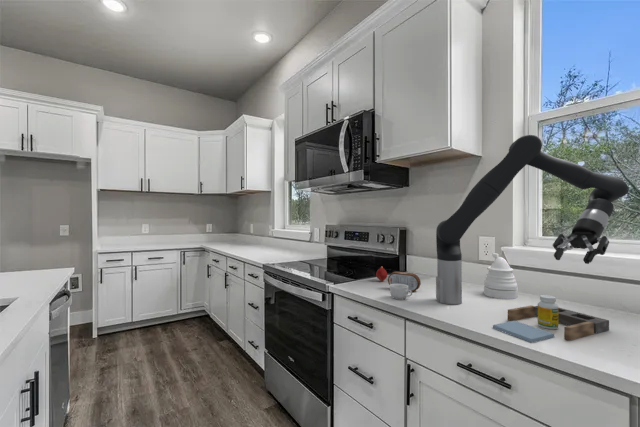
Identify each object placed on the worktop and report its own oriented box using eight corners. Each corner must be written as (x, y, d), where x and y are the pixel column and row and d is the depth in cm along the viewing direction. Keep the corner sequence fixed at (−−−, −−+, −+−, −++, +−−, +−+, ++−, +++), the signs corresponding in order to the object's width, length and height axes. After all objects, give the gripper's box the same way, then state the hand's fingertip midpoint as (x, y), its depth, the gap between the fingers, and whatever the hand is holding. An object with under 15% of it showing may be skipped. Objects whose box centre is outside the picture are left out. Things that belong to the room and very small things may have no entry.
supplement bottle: (542, 322, 102) (541, 293, 102) (561, 327, 97) (561, 297, 97) (534, 325, 99) (534, 295, 99) (554, 331, 94) (554, 299, 94)
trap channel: (545, 312, 112) (545, 302, 112) (609, 330, 95) (609, 318, 95) (507, 320, 104) (507, 309, 104) (568, 340, 87) (568, 328, 87)
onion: (375, 280, 167) (374, 265, 167) (385, 280, 168) (385, 265, 168) (377, 282, 161) (377, 267, 161) (388, 282, 162) (388, 267, 162)
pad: (514, 323, 101) (514, 320, 101) (554, 337, 90) (554, 333, 90) (492, 328, 97) (492, 324, 97) (531, 342, 86) (531, 339, 86)
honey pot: (478, 294, 137) (478, 254, 137) (491, 290, 145) (491, 251, 145) (510, 300, 127) (510, 257, 127) (522, 295, 135) (522, 254, 135)
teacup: (386, 298, 132) (385, 285, 132) (396, 295, 137) (396, 282, 137) (406, 303, 125) (406, 289, 125) (416, 299, 130) (416, 286, 130)
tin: (420, 291, 143) (420, 273, 143) (419, 293, 140) (418, 274, 140) (389, 287, 151) (389, 270, 151) (387, 289, 148) (387, 271, 148)
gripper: (562, 217, 112) (542, 250, 108) (611, 217, 99) (591, 255, 95) (572, 231, 114) (552, 264, 110) (621, 233, 101) (601, 271, 97)
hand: (570, 260), depth 102 cm, fingers open, 8 cm apart
